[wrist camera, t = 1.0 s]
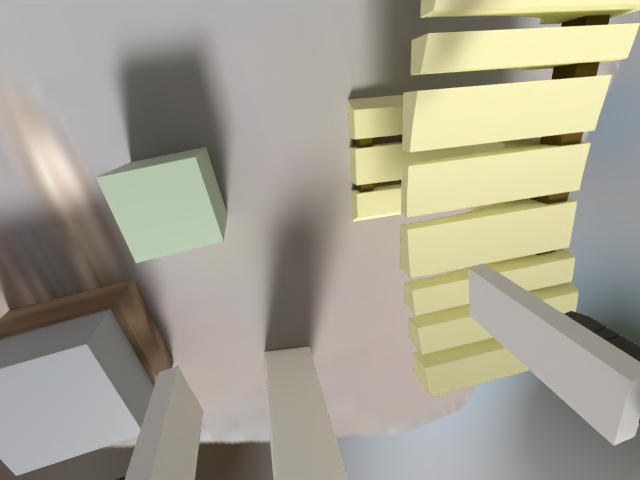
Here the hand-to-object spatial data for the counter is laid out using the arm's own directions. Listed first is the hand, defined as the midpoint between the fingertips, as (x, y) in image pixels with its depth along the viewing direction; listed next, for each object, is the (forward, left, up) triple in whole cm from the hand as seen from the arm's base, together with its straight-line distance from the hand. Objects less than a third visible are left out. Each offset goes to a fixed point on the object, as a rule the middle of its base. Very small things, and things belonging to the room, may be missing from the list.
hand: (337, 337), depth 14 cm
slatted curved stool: (-2, +16, -23) cm, 28 cm away
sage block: (-4, -9, -23) cm, 25 cm away
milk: (+22, -4, -23) cm, 32 cm away
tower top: (+10, -23, -18) cm, 31 cm away
